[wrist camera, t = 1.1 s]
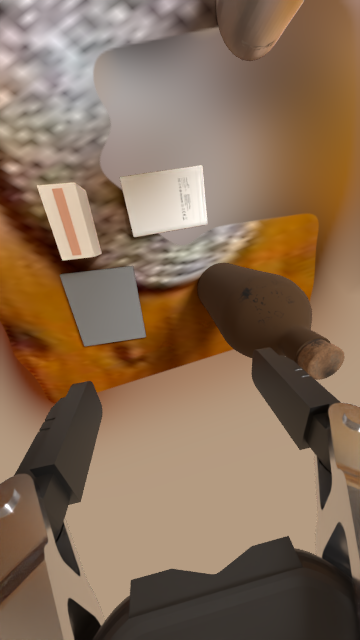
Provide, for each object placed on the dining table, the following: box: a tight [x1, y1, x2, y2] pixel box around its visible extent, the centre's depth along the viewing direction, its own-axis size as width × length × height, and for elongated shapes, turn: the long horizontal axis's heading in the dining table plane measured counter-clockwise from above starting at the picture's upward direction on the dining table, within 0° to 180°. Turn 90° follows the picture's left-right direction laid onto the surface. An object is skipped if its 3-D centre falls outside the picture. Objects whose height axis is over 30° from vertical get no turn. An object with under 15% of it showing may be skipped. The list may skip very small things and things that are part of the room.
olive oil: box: [198, 263, 344, 379], centre depth 27 cm, size 11×11×25 cm
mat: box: [60, 266, 146, 346], centre depth 36 cm, size 14×12×1 cm
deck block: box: [37, 182, 102, 260], centre depth 28 cm, size 9×4×5 cm, turn 6°
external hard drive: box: [120, 165, 207, 237], centre depth 31 cm, size 2×8×12 cm
